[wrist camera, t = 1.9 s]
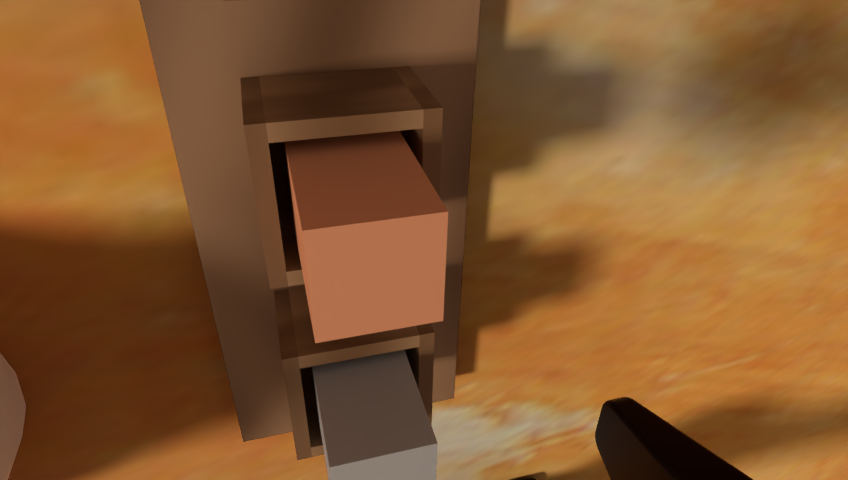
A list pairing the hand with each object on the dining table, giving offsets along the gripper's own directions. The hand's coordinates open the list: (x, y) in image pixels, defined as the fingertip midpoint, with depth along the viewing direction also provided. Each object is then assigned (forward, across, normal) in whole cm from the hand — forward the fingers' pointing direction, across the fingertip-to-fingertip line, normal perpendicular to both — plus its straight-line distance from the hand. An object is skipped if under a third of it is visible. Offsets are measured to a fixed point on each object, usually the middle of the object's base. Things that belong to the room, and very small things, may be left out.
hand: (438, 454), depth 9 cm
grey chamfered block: (+9, 0, +8) cm, 12 cm away
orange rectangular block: (+9, 0, 0) cm, 9 cm away
